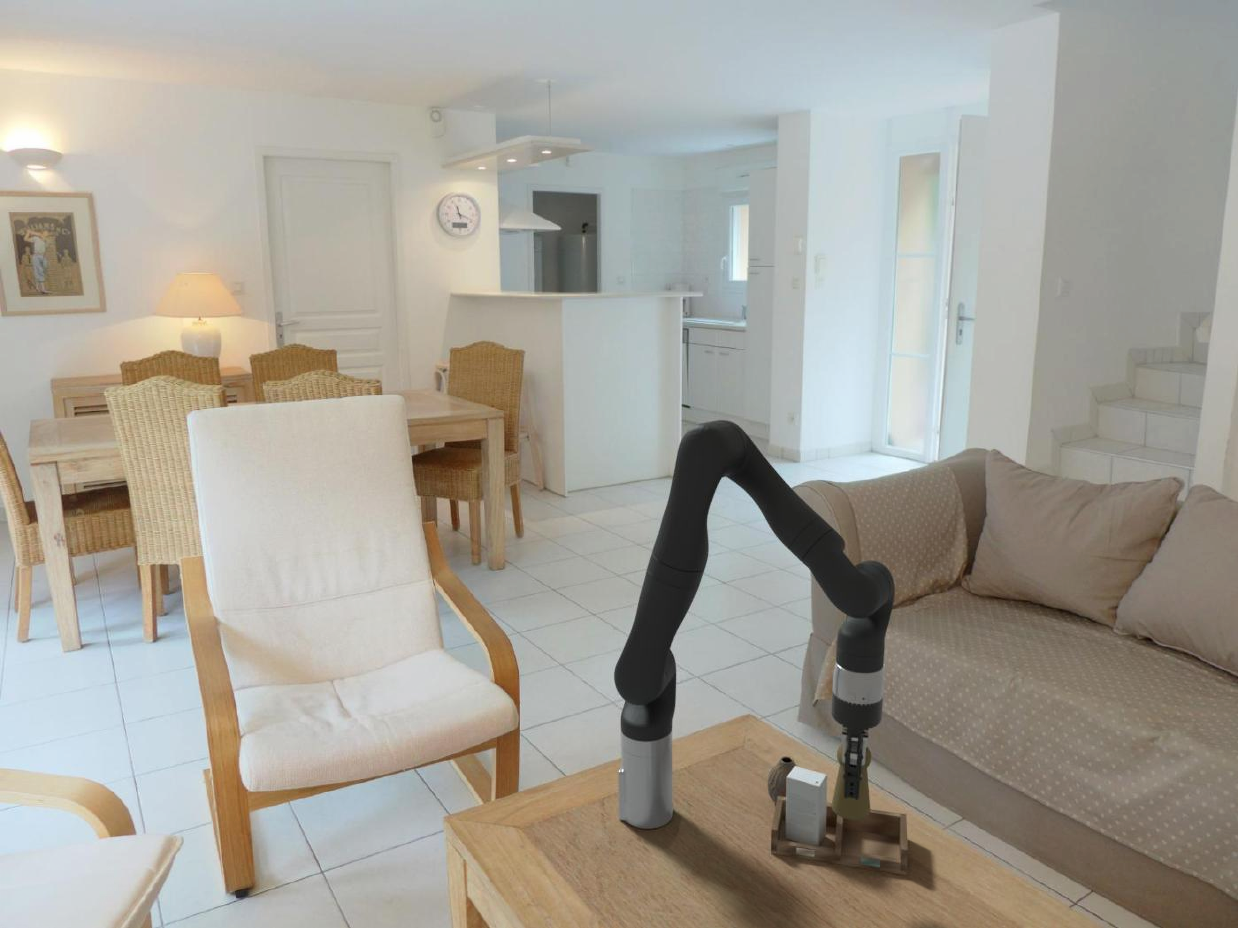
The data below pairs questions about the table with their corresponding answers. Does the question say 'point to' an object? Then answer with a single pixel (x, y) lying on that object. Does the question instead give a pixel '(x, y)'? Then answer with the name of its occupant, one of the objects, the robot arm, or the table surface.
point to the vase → (779, 777)
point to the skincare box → (806, 806)
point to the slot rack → (850, 840)
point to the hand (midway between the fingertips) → (851, 789)
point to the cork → (851, 806)
